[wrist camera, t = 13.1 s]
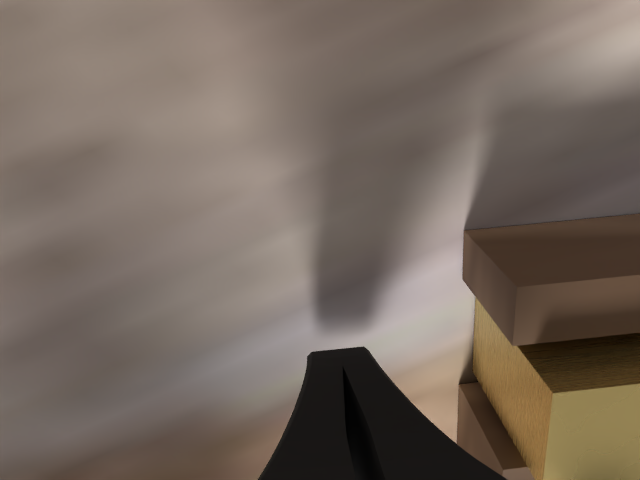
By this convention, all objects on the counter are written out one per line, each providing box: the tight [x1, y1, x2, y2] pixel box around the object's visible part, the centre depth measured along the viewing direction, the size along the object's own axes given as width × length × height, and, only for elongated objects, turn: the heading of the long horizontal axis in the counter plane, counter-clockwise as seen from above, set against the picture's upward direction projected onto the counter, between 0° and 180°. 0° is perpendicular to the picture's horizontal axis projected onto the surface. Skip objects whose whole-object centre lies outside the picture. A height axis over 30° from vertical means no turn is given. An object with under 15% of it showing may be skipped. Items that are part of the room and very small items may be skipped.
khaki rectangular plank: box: [472, 298, 640, 480], centre depth 12 cm, size 2×6×4 cm, turn 94°
